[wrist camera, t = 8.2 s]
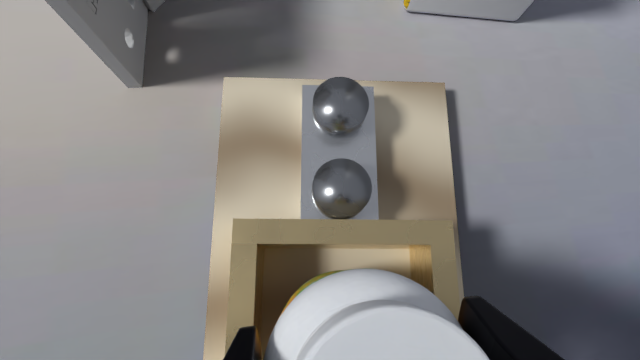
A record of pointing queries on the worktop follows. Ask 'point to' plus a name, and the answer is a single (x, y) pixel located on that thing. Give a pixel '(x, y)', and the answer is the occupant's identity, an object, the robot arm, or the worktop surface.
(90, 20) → the hinge
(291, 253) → the board
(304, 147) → the bottle holder fixture
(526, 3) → the medicine bottle
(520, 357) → the robot arm
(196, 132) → the worktop surface
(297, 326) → the supplement bottle
